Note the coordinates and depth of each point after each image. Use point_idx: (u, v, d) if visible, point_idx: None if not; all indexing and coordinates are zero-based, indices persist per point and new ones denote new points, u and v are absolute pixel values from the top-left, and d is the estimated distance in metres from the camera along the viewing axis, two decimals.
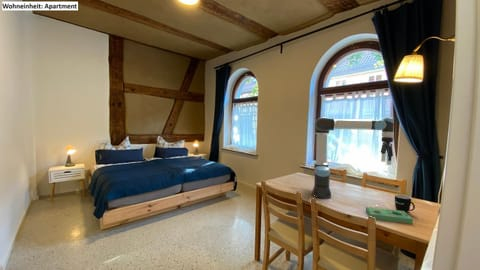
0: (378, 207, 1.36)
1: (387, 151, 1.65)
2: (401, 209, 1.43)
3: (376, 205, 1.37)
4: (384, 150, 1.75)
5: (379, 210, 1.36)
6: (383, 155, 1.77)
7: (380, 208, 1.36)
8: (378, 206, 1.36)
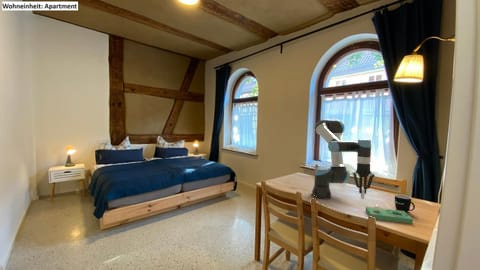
0: (378, 207, 1.36)
1: (359, 181, 1.40)
2: (401, 209, 1.43)
3: (376, 205, 1.37)
4: (364, 182, 1.39)
5: (379, 210, 1.36)
6: None
7: (380, 208, 1.36)
8: (378, 206, 1.36)
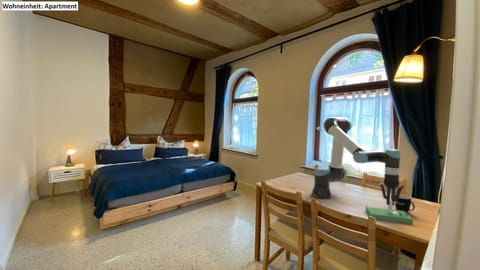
0: (394, 212, 1.34)
1: None
2: (401, 209, 1.43)
3: (392, 212, 1.36)
4: (392, 193, 1.34)
5: (397, 214, 1.33)
6: None
7: (396, 212, 1.34)
8: (393, 212, 1.35)
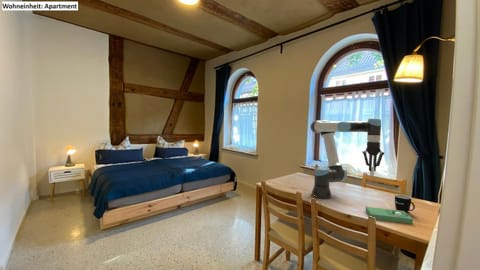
0: (399, 212, 1.33)
1: (369, 160, 1.44)
2: (401, 209, 1.43)
3: None
4: (373, 160, 1.43)
5: None
6: None
7: (401, 214, 1.33)
8: (399, 212, 1.34)
